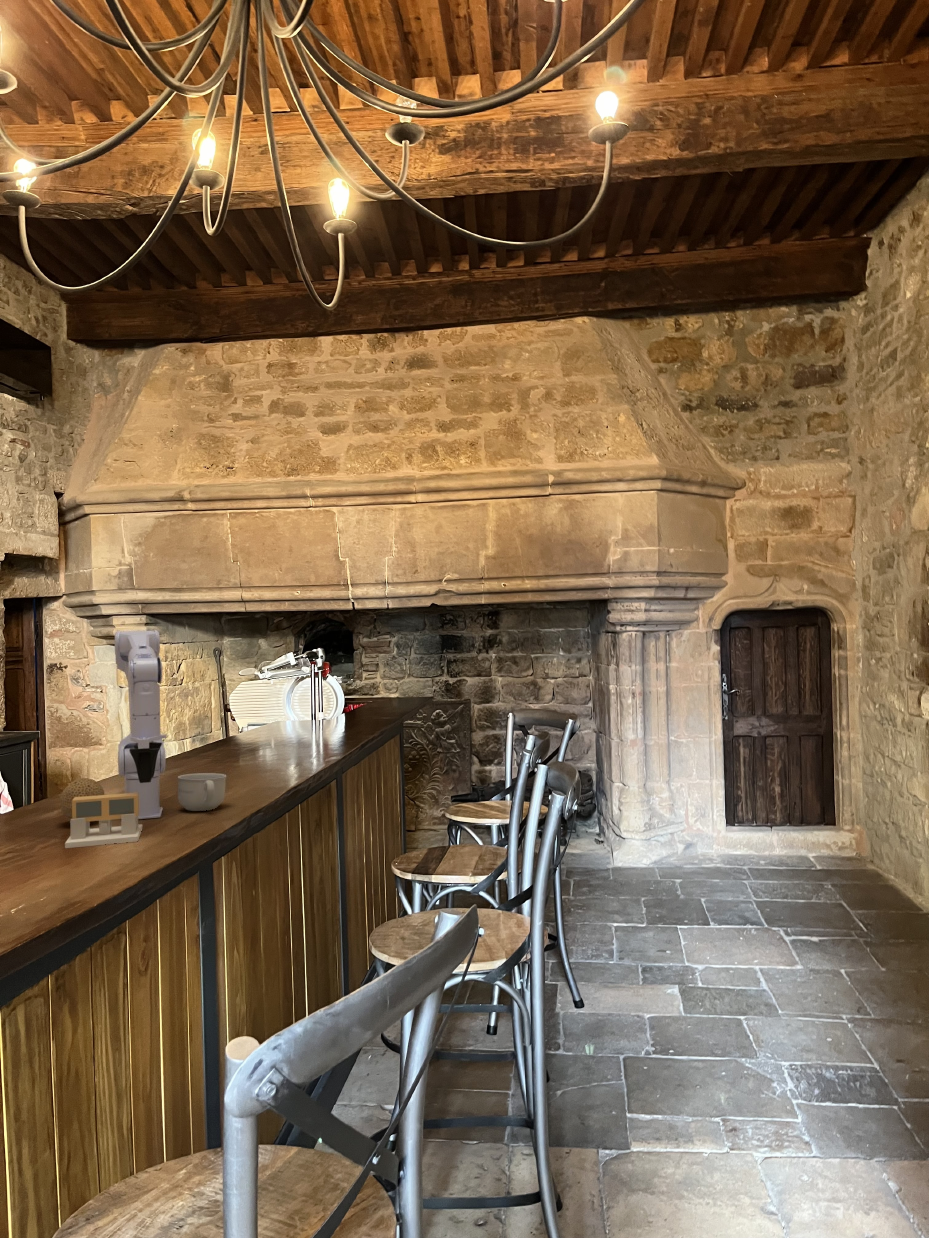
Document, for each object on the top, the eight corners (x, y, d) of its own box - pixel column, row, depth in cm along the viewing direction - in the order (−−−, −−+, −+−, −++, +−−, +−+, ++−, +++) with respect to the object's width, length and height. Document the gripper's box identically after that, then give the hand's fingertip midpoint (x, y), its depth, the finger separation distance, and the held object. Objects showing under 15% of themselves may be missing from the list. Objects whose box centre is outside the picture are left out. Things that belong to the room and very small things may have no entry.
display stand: (74, 835, 164) (74, 811, 164) (142, 829, 168) (142, 805, 168) (65, 848, 154) (64, 822, 154) (137, 841, 158) (137, 816, 158)
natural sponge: (101, 826, 171) (101, 779, 171) (55, 830, 168) (55, 783, 169) (107, 817, 180) (106, 773, 180) (63, 821, 177) (62, 776, 177)
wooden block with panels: (75, 819, 161) (74, 797, 161) (139, 813, 164) (138, 792, 165) (72, 822, 158) (72, 800, 158) (137, 817, 161) (137, 795, 161)
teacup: (177, 806, 190) (177, 773, 190) (225, 802, 194) (224, 769, 194) (178, 819, 177) (178, 782, 177) (229, 814, 181) (229, 778, 181)
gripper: (164, 716, 163) (165, 783, 162) (167, 711, 176) (168, 773, 176) (126, 718, 160) (127, 786, 160) (133, 713, 174) (134, 776, 174)
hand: (146, 779), depth 168 cm, fingers open, 7 cm apart
